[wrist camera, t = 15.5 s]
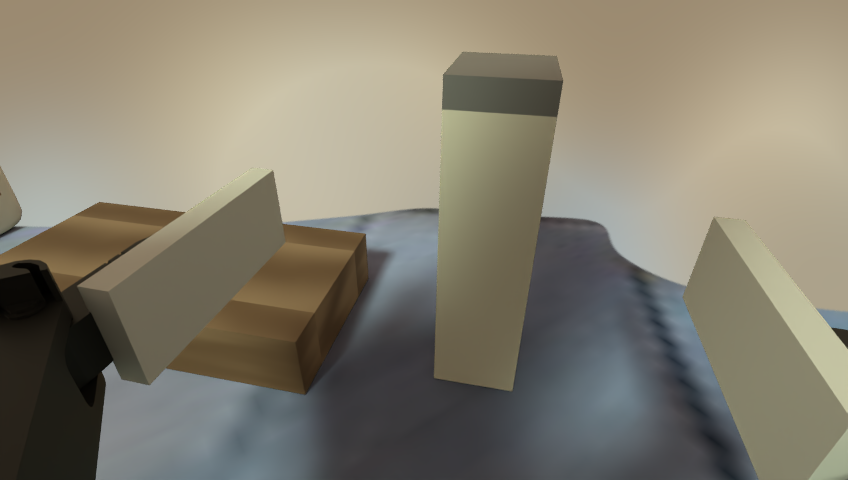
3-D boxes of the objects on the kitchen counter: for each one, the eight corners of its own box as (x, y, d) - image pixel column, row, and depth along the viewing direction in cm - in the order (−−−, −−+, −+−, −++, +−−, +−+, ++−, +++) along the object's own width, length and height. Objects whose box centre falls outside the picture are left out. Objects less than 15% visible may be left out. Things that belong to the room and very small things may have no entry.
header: (305, 394, 22) (295, 342, 20) (-21, 332, 26) (-54, 283, 24) (368, 278, 31) (365, 233, 29) (116, 243, 34) (99, 202, 32)
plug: (512, 391, 23) (563, 80, 15) (433, 378, 23) (443, 74, 16) (515, 325, 27) (556, 55, 19) (449, 315, 27) (462, 51, 20)
